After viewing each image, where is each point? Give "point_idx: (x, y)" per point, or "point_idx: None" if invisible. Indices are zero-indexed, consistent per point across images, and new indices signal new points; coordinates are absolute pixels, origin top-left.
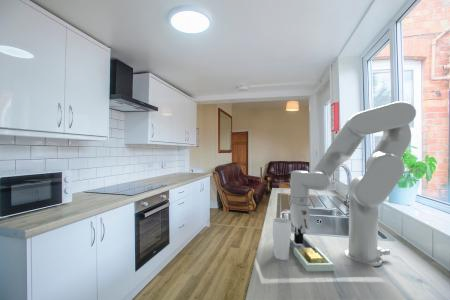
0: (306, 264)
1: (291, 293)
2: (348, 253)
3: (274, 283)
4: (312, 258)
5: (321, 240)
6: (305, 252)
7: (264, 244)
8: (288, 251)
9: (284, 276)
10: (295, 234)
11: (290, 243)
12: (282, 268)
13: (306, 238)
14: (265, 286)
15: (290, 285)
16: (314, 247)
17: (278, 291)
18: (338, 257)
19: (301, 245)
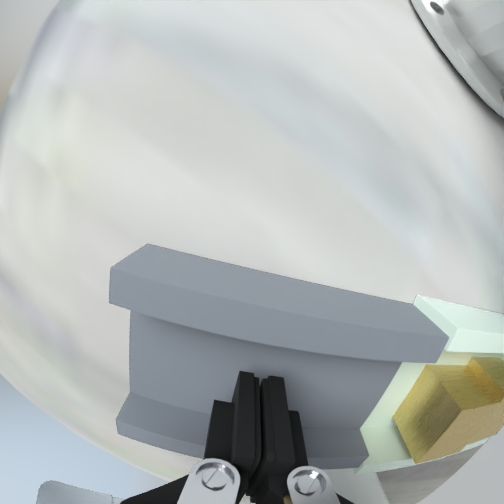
0: (484, 442)
1: (469, 457)
2: (485, 66)
3: (424, 484)
4: (500, 426)
5: (148, 29)
6: (461, 448)
7: (156, 472)
8: (386, 497)
9: (425, 469)
10: (254, 498)
11: None
12: (392, 473)
13: (204, 297)
14: (417, 494)
15: (456, 458)
16: (441, 347)
17: (446, 476)
18: (475, 146)
19: (257, 357)
